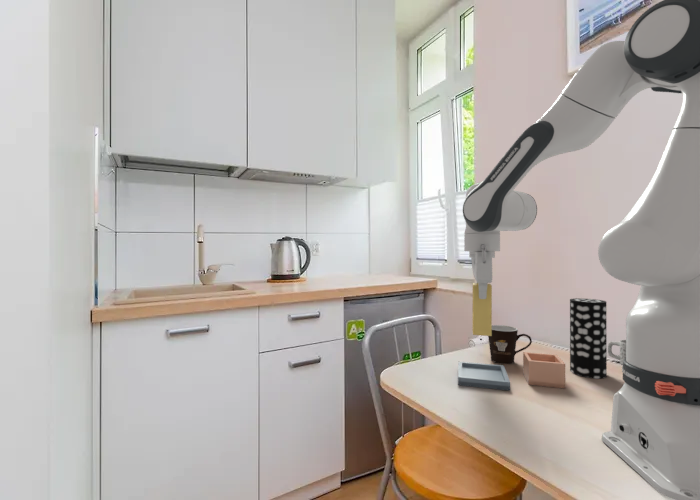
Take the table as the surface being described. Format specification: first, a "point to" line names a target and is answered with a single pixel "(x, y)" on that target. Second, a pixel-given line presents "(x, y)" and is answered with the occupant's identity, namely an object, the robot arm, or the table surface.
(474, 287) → the peg
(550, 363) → the pink open box
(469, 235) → the robot arm
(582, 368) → the white-spotted black cylinder
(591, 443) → the table surface
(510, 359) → the coffee mug
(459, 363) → the tray
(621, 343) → the mug
